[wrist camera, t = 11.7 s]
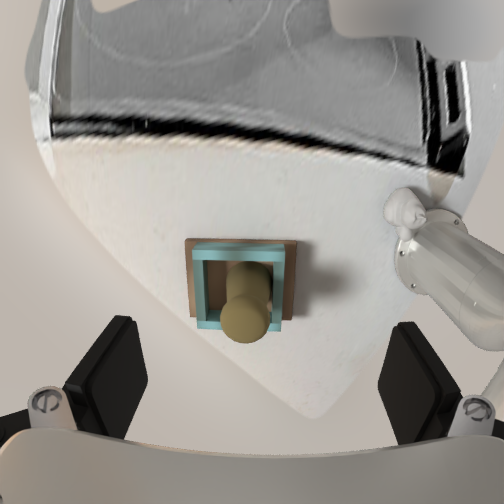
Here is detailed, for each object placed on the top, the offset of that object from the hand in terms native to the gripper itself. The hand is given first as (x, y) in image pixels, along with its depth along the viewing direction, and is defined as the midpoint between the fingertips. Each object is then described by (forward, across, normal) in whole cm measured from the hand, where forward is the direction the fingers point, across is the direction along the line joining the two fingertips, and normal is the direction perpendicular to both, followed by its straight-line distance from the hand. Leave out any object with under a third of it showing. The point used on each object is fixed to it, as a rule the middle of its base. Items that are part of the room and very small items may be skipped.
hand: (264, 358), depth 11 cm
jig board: (+30, +3, +10) cm, 32 cm away
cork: (+29, +2, +10) cm, 31 cm away
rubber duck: (+31, -18, 0) cm, 35 cm away
